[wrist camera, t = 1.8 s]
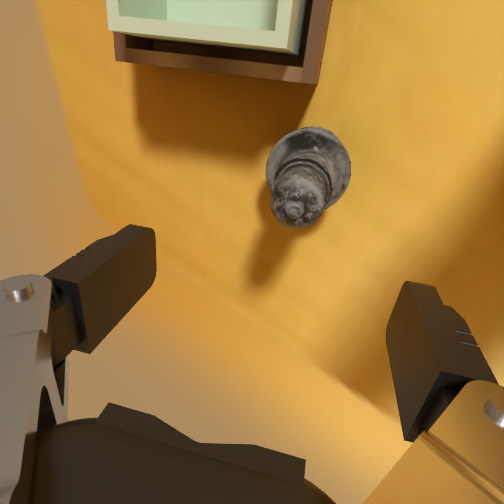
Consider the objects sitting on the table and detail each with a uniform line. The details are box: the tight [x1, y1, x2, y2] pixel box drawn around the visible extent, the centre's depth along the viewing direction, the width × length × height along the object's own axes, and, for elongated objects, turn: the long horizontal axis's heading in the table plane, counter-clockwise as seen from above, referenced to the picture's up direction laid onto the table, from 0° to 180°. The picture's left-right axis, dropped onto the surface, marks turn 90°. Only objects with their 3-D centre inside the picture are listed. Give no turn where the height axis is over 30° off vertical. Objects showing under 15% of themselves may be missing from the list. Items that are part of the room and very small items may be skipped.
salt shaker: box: [266, 126, 351, 229], centre depth 21 cm, size 6×6×12 cm
